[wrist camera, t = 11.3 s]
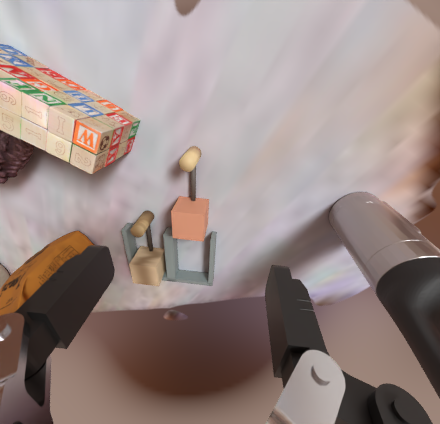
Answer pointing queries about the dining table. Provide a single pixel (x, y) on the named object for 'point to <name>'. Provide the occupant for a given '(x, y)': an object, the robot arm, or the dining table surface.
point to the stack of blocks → (61, 114)
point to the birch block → (147, 255)
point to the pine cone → (12, 155)
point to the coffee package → (39, 270)
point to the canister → (3, 275)
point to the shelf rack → (173, 258)
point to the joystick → (190, 204)
